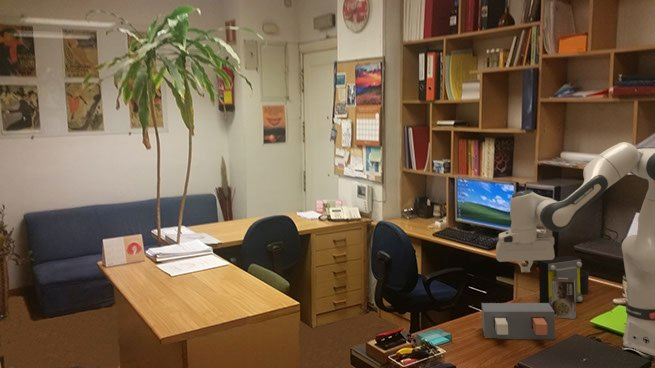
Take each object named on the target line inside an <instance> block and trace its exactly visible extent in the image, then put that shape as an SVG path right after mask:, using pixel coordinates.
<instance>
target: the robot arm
mask: <svg viewBox="0 0 655 368" xmlns="http://www.w3.org/2000/svg"><path fill="white" fill-rule="evenodd" d="M582 173H583V174H582V175H583V179H584V180H583V183H582V184H581V186H580V187H579V188H578V189H576V190H574V192H572V193H571V194H570V195H569V196H567V197H566V198H565V199H563V200H560V201H558V200H556V199H554V198H551V197H546V196H542V195H539V194H537V193H535V192H534V191H533V190H530V189H529V190H528V189H527V190H520V191H517V192H515V193H514V194H512V195H511V197H510V202H509V216H510V220H511V224H510V229H508V230H506V231H502V232H501V233H499V234H498V240H497V243H496V246H495V259H496V260H497V261H498V262H500V263H502V262H504V263H505V262H517V264H518V266H519V267H520V271H521V273H531V267H532V265H533V264H534V261H538V260H553V259H554V258H556V256H555V249H554V245H555V237H554V235H550V233H546V234H537V231H538V230H537V226H538V225H543V226H544V228H545V229H547V230H549V231H551V232H555V233H556V232H557V233H559V232H563V231H565V230H567V229H568V228H569V227H570V226H571V225H572V224H573V222H574V221H575V219H576V218H577V217H578V215H580V213H581V212H582V211H583V210H585V209H586V208H587V207H588V206H589V205H591V204H592V203H593V202H595V200H596V199H597V198H599V197H600V196H601V195H603V193H604V192H606V190H607V189H608V188H610V187H611V186H613V185H614V184H616V183H617V182H618V181H620V180H621V179H622V178H624V177H625V176H626V175H628V174H631V175H633V176H635V177H639V178H641V179H644V180H647V182H648V190H647V191H646V194H645V197H644V200H643V202H642V205H641V207H640V208H641V209H640V211H639V214H638V218H637V231H636V232H637V233H636V234H631V235H628V236H626V238H624V240H623V241H622V243H621V251H622V252H621V253H622V256H623V265H624V272H625V278H626V296H627V302H626V303H625V313H626V314H627V315H626V322H625V329H624V334H623V337H622V341H623V343H622V344H623V345H622V346H623V347H625V348H629V349H632V348H634V349H633V350H635V349H636V350H635V351H638V352H642V353H643V354H644V353H645V354H648V355H651V356H653V357H655V147H653V148H652V147H651V148H649V147H636V146H635V145H634V144H632V143H630V142H626V141H624V142H623V141H622V142H619V143H616V144H615V145H613V146H611V147H609V148H607V149H606V150H604V151H602V152H601V153H600V154H598V155H597V156H595V157H594V158H592V160H590V161H589V162H588V163H587V164H586V165H585V166H584V168H583V172H582ZM523 262H528V264H527V266H523V265H522V264H523Z"/></svg>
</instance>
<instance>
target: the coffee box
mask: <svg viewBox="0 0 655 368" xmlns="http://www.w3.org/2000/svg"><path fill="white" fill-rule="evenodd" d="M551 286H552V309H553V310H554V317H555V318H559V319H571V320H575V319H576V318H577V311H576V309H577V305H576V303H577V302H576V301H575V278H562V277H553V278H552V281H551Z"/></svg>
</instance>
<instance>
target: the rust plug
mask: <svg viewBox="0 0 655 368" xmlns="http://www.w3.org/2000/svg"><path fill="white" fill-rule="evenodd" d="M531 321H532V327H533V329H534V331H535V333H536V335H548V333H547V323H546V321H545V320H544V318H543V317H531Z"/></svg>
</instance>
